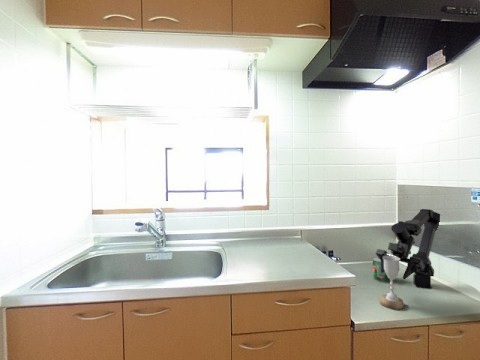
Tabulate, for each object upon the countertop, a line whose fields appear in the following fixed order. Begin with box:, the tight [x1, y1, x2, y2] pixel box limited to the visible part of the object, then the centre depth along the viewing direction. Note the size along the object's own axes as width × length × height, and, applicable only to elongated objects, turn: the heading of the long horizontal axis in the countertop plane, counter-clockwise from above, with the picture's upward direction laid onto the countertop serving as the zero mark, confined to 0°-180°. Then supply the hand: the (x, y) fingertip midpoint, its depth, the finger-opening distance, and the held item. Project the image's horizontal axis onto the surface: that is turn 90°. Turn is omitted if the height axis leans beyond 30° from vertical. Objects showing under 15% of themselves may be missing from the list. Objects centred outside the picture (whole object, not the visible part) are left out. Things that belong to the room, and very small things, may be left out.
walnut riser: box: [379, 294, 404, 311], centre depth 116 cm, size 9×9×2 cm
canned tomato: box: [372, 256, 391, 284], centre depth 143 cm, size 8×8×11 cm
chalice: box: [383, 256, 401, 302], centre depth 117 cm, size 7×7×18 cm
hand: (392, 275), depth 117 cm, fingers open, 9 cm apart
